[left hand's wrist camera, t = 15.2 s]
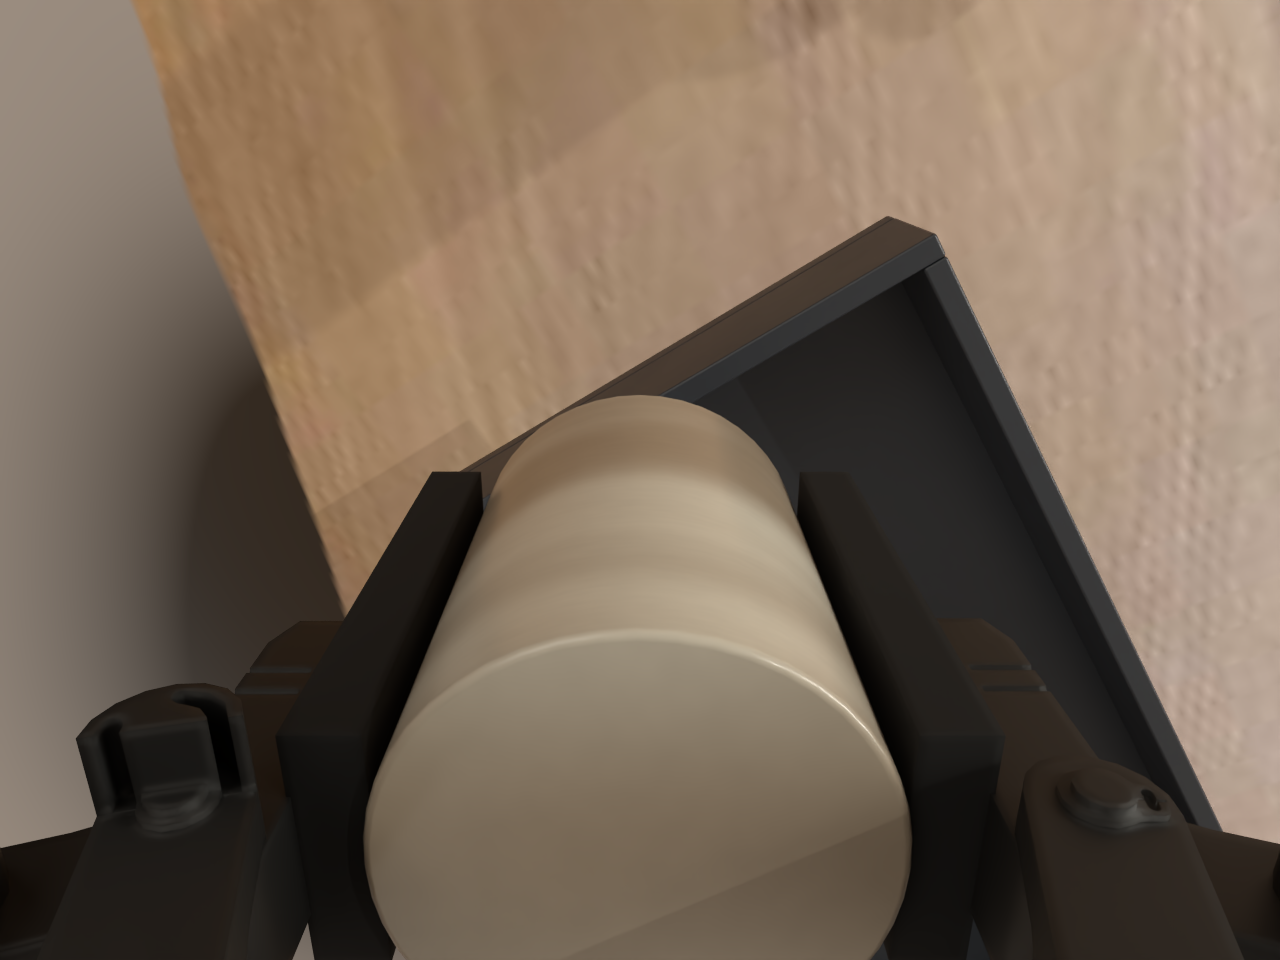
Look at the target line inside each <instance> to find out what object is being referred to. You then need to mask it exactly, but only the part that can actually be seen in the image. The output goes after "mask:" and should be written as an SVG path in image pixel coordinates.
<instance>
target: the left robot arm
mask: <svg viewBox="0 0 1280 960" xmlns="http://www.w3.org/2000/svg"><path fill="white" fill-rule="evenodd" d="M483 512H484V509H483V494H482V479H481V472H432V473H431V475H430V476H429V478H428V480H427V481H426V483H425V485H424V486H423V488H422V490H421V492H420V493H419V495H418V497H417V498H416V500H415V502H414V503H413V505H412V507H411V508H410V510H409V512H408V513H407V515H406V517H405V518H404V520H403V522H402V523H401V525H400V527H399V528H398V530H397V532H396V533H395V535H394V537H393V539H392V540H391V542H390V544H389V545H388V547H387V549H386V550H385V552H384V554H383V555H382V557H381V559H380V560H379V562H378V564H377V565H376V567H375V569H374V570H373V572H372V574H371V575H370V577H369V579H368V580H367V582H366V584H365V586H364V587H363V589H362V591H361V592H360V594H359V596H358V597H357V599H356V601H355V602H354V604H353V606H352V607H351V609H350V611H349V612H348V614H347V616H346V617H345V619H344V621H300V622H298V623H297V624H295V625H294V626H292V627H291V628H289V629H288V630H286V631H285V632H283V633H282V634H281V635H279V636H278V637H276V638H275V639H273V640H272V641H270V642H269V643H268V644H267V645H266V647H265V648H264V649H263V651H262V652H261V654H260V655H259V657H258V658H257V659H256V661H255V662H254V663H253V665H252V666H251V668H250V673H246V675H245V676H244V677H243V679H242V680H241V682H240V683H239V684H238V686H237V687H236V689H235V694H234V693H232V692H231V691H230V690H229V689H227V688H223V687H219V686H215V685H210V684H206V683H197V684H175V685H171V686H166V687H162V688H157V689H153V690H148V691H145V692H142V693H140V694H138V695H135V696H133V697H130V698H128V699H126V700H123V701H121V702H118V703H116V704H114V705H113V706H111V707H110V708H109V709H107V710H105V711H104V712H102V713H101V714H99V715H98V716H96V717H95V718H93V719H92V720H91V721H90V722H89V723H88V724H87V726H86V727H85V728H84V729H83V730H82V732H81V733H80V734H79V735H78V737H77V738H76V741H77V745H78V748H79V752H80V756H81V759H82V763H83V767H84V770H85V774H86V778H87V781H88V785H89V789H90V792H91V796H92V800H93V803H94V807H95V811H96V814H97V817H96V820H95V822H94V825H93V827H90V828H86V829H83V830H80V831H76V832H73V833H68V834H64V835H59V836H54V837H50V838H45V839H41V840H36V841H31V842H27V843H23V844H18V845H13V846H8V847H4V848H0V960H292V959H293V957H294V954H295V952H296V949H297V947H298V945H299V942H300V940H301V937H302V935H303V933H304V930H305V928H306V925H307V923H308V925H309V931H310V937H311V943H312V948H313V954H314V959H315V960H392V959H393V955H394V952H395V949H396V946H395V944H394V943H393V941H392V939H391V938H390V936H389V934H388V932H387V931H386V929H385V927H384V926H383V924H382V922H381V919H380V917H379V914H378V912H377V909H376V907H375V904H374V902H373V899H372V896H371V892H370V887H369V883H368V878H367V874H366V869H365V862H364V844H363V833H364V824H365V815H366V807H367V804H368V800H369V797H370V793H371V790H372V786H373V783H374V780H375V777H376V775H377V772H378V770H379V767H380V765H381V762H382V760H383V758H384V755H385V753H386V750H387V748H388V745H389V743H390V740H391V738H392V735H393V733H394V731H395V728H396V726H397V723H398V721H399V718H400V716H401V713H402V711H403V708H404V706H405V704H406V701H407V699H408V696H409V694H410V691H411V689H412V686H413V684H414V682H415V679H416V677H417V674H418V672H419V669H420V667H421V664H422V662H423V659H424V657H425V655H426V652H427V650H428V647H429V645H430V642H431V640H432V637H433V635H434V632H435V630H436V628H437V625H438V623H439V620H440V618H441V615H442V613H443V610H444V608H445V605H446V603H447V601H448V598H449V596H450V593H451V591H452V588H453V586H454V583H455V581H456V579H457V576H458V574H459V571H460V569H461V566H462V564H463V561H464V559H465V556H466V554H467V552H468V549H469V547H470V544H471V542H472V539H473V537H474V534H475V532H476V529H477V527H478V525H479V522H480V520H481V517H482V515H483ZM797 518H798V521H799V523H800V526H801V528H802V531H803V533H804V536H805V538H806V541H807V543H808V546H809V548H810V551H811V554H812V556H813V559H814V561H815V564H816V566H817V569H818V571H819V574H820V576H821V579H822V581H823V584H824V586H825V589H826V591H827V594H828V597H829V599H830V602H831V604H832V607H833V609H834V612H835V614H836V617H837V619H838V622H839V624H840V627H841V629H842V632H843V634H844V637H845V640H846V642H847V645H848V647H849V650H850V652H851V655H852V657H853V660H854V662H855V665H856V667H857V670H858V672H859V675H860V677H861V680H862V683H863V685H864V688H865V690H866V693H867V695H868V698H869V700H870V703H871V705H872V708H873V710H874V713H875V715H876V718H877V720H878V723H879V726H880V728H881V731H882V733H883V736H884V738H885V741H886V743H887V746H888V748H889V751H890V753H891V756H892V758H893V761H894V763H895V766H896V769H897V771H898V774H899V776H900V779H901V781H902V785H903V788H904V792H905V795H906V799H907V802H908V806H909V809H910V818H911V827H912V836H913V841H912V859H911V869H910V874H909V878H908V883H907V887H906V892H905V896H904V900H903V902H902V905H901V907H900V910H899V912H898V915H897V917H896V920H895V922H894V924H893V926H892V928H891V930H890V931H889V933H888V935H887V936H886V938H885V940H884V942H883V943H884V946H885V949H886V953H887V956H888V959H889V960H966V958H967V952H968V947H969V941H970V935H971V930H972V924H973V919H974V921H975V924H976V926H977V929H978V931H979V933H980V936H981V938H982V941H983V943H984V945H985V948H986V950H987V952H988V955H989V957H990V960H1280V844H1276V843H1272V842H1267V841H1263V840H1258V839H1253V838H1249V837H1244V836H1240V835H1235V834H1230V833H1226V832H1221V831H1217V830H1212V829H1208V828H1205V827H1201V826H1198V825H1194V824H1191V823H1187V822H1186V821H1185V818H1184V816H1183V814H1182V813H1181V811H1180V810H1179V809H1178V807H1177V806H1176V804H1175V803H1174V801H1173V800H1172V799H1171V797H1170V796H1169V795H1168V794H1167V793H1166V792H1164V791H1163V790H1162V789H1160V788H1159V787H1158V786H1157V785H1155V784H1154V783H1153V782H1151V781H1150V780H1149V779H1147V778H1146V777H1144V776H1142V775H1140V774H1138V773H1136V772H1134V771H1132V770H1129V769H1127V768H1125V767H1123V766H1121V765H1119V764H1116V763H1112V762H1109V761H1105V760H1101V759H1099V758H1098V757H1097V756H1096V754H1095V753H1094V751H1093V750H1092V749H1091V747H1090V746H1089V745H1088V743H1087V742H1086V740H1085V739H1084V738H1083V736H1082V735H1081V733H1080V732H1079V731H1078V729H1077V728H1076V726H1075V725H1074V724H1073V722H1072V721H1071V720H1070V718H1069V717H1068V715H1067V714H1066V713H1065V711H1064V710H1063V708H1062V707H1061V706H1060V704H1059V703H1058V701H1057V700H1056V699H1055V697H1054V696H1053V695H1052V693H1051V692H1050V691H1047V690H1046V685H1045V683H1044V682H1043V681H1042V679H1041V678H1040V676H1039V675H1038V674H1037V672H1036V671H1035V670H1032V669H1031V664H1030V663H1029V661H1028V660H1027V658H1026V657H1025V656H1024V654H1023V653H1022V651H1021V650H1020V649H1019V647H1018V646H1017V645H1016V643H1015V642H1014V640H1013V639H1011V638H1010V637H1008V636H1007V635H1005V634H1004V633H1002V632H1001V631H999V630H998V629H996V628H995V627H993V626H992V625H990V624H989V623H987V622H986V621H984V620H983V619H982V618H935V616H934V614H933V613H932V611H931V609H930V608H929V606H928V604H927V603H926V601H925V599H924V598H923V596H922V594H921V592H920V591H919V589H918V587H917V586H916V584H915V582H914V581H913V579H912V577H911V576H910V574H909V572H908V571H907V569H906V567H905V566H904V564H903V562H902V561H901V559H900V557H899V556H898V554H897V552H896V550H895V549H894V547H893V545H892V544H891V542H890V540H889V539H888V537H887V535H886V534H885V532H884V530H883V529H882V527H881V525H880V524H879V522H878V520H877V519H876V517H875V515H874V514H873V512H872V510H871V509H870V507H869V505H868V503H867V502H866V500H865V498H864V497H863V495H862V493H861V492H860V490H859V488H858V487H857V485H856V483H855V482H854V480H853V478H852V477H851V475H850V473H849V472H800V477H799V492H798V507H797Z"/></svg>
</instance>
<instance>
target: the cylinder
mask: <svg viewBox="0 0 1280 960" xmlns="http://www.w3.org/2000/svg"><path fill="white" fill-rule="evenodd" d="M912 841H913V836H912V827H911V818H910V809H909V806H908V802H907V799H906V795H905V792H904V788H903V785H902V781H901V779H900V776H899V774H898V771H897V769H896V766H895V763H894V761H893V758H892V756H891V753H890V751H889V748H888V746H887V743H886V741H885V738H884V736H883V733H882V731H881V728H880V726H879V723H878V720H877V718H876V715H875V713H874V710H873V708H872V705H871V703H870V700H869V698H868V695H867V693H866V690H865V688H864V685H863V683H862V680H861V677H860V675H859V672H858V670H857V667H856V665H855V662H854V660H853V657H852V655H851V652H850V650H849V647H848V645H847V642H846V640H845V637H844V634H843V632H842V629H841V627H840V624H839V622H838V619H837V617H836V614H835V612H834V609H833V607H832V604H831V602H830V599H829V597H828V594H827V591H826V589H825V586H824V584H823V581H822V579H821V576H820V574H819V571H818V569H817V566H816V564H815V561H814V559H813V556H812V554H811V551H810V548H809V546H808V543H807V541H806V538H805V536H804V533H803V531H802V528H801V526H800V523H799V521H798V518H797V516H796V513H795V511H794V508H793V505H792V503H791V500H790V498H789V495H788V493H787V490H786V488H785V486H784V484H783V482H782V480H781V477H780V475H779V473H778V471H777V470H776V468H775V467H774V465H773V464H772V462H771V461H770V459H769V458H768V456H767V455H766V454H765V453H764V452H763V450H762V449H761V448H760V447H759V446H758V445H757V444H756V442H755V441H754V440H752V439H751V438H750V437H749V436H748V435H747V434H746V433H744V432H743V431H742V430H741V429H740V428H739V427H737V426H736V425H734V424H732V423H731V422H729V421H728V420H726V419H725V418H723V417H722V416H720V415H718V414H716V413H714V412H711V411H709V410H707V409H705V408H703V407H700V406H697V405H694V404H691V403H688V402H685V401H682V400H677V399H672V398H667V397H661V396H647V395H632V396H617V397H612V398H607V399H602V400H597V401H594V402H591V403H587V404H584V405H581V406H578V407H576V408H574V409H572V410H569V411H567V412H565V413H563V414H561V415H559V416H557V417H556V418H554V419H552V420H551V421H549V422H548V423H546V424H545V425H543V426H542V427H540V428H539V429H538V430H537V431H536V432H534V433H533V434H532V435H531V436H530V437H529V438H528V439H526V440H525V441H524V442H523V443H522V445H521V446H520V447H519V448H518V449H517V450H516V451H515V453H514V454H513V455H512V456H511V458H510V459H509V461H508V462H507V464H506V465H505V467H504V468H503V470H502V471H501V473H500V475H499V477H498V479H497V482H496V484H495V486H494V488H493V490H492V493H491V495H490V498H489V500H488V503H487V505H486V507H485V510H484V512H483V515H482V517H481V520H480V522H479V525H478V527H477V529H476V532H475V534H474V537H473V539H472V542H471V544H470V547H469V549H468V552H467V554H466V556H465V559H464V561H463V564H462V566H461V569H460V571H459V574H458V576H457V579H456V581H455V583H454V586H453V588H452V591H451V593H450V596H449V598H448V601H447V603H446V605H445V608H444V610H443V613H442V615H441V618H440V620H439V623H438V625H437V628H436V630H435V632H434V635H433V637H432V640H431V642H430V645H429V647H428V650H427V652H426V655H425V657H424V659H423V662H422V664H421V667H420V669H419V672H418V674H417V677H416V679H415V682H414V684H413V686H412V689H411V691H410V694H409V696H408V699H407V701H406V704H405V706H404V708H403V711H402V713H401V716H400V718H399V721H398V723H397V726H396V728H395V731H394V733H393V735H392V738H391V740H390V743H389V745H388V748H387V750H386V753H385V755H384V758H383V760H382V762H381V765H380V767H379V770H378V772H377V775H376V777H375V780H374V783H373V786H372V790H371V793H370V797H369V800H368V804H367V807H366V815H365V824H364V833H363V844H364V862H365V869H366V874H367V878H368V883H369V887H370V892H371V896H372V899H373V902H374V904H375V907H376V909H377V912H378V914H379V917H380V919H381V922H382V924H383V926H384V927H385V929H386V931H387V932H388V934H389V936H390V938H391V939H392V941H393V943H394V944H395V946H396V948H397V949H398V950H399V952H400V953H401V954H402V955H403V957H404V958H405V959H406V960H871V958H872V957H873V956H874V955H875V953H876V952H877V951H878V950H879V948H880V947H881V945H882V943H883V942H884V940H885V938H886V936H887V935H888V933H889V931H890V930H891V928H892V926H893V924H894V922H895V920H896V917H897V915H898V912H899V910H900V907H901V905H902V902H903V900H904V896H905V892H906V887H907V883H908V878H909V874H910V869H911V859H912Z"/></svg>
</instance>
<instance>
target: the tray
mask: <svg viewBox="0 0 1280 960" xmlns="http://www.w3.org/2000/svg"><path fill="white" fill-rule="evenodd" d="M632 395H647V396H661V397H667V398H672V399H677V400H682V401H685V402H688V403H691V404H694V405H697V406H700V407H703V408H705V409H707V410H709V411H711V412H714V413H716V414H718V415H720V416H722V417H723V418H725V419H726V420H728V421H729V422H731V423H732V424H734V425H736V426H737V427H739V428H740V429H741V430H742V431H743V432H744V433H746V434H747V435H748V436H749V437H750V438H751V439H752V440H754V441H755V442H756V444H757V445H758V446H759V447H760V448H761V449H762V450H763V452H764V453H765V454H766V455H767V456H768V458H769V459H770V461H771V462H772V464H773V465H774V467H775V468H776V470H777V471H778V473H779V475H780V477H781V480H782V482H783V484H784V486H785V488H786V490H787V493H788V495H789V498H790V500H791V503H792V505H793V508H794V511H795V513H796V516H797V507H798V492H799V477H800V472H849V473H850V475H851V477H852V478H853V480H854V482H855V483H856V485H857V487H858V488H859V490H860V492H861V493H862V495H863V497H864V498H865V500H866V502H867V503H868V505H869V507H870V509H871V510H872V512H873V514H874V515H875V517H876V519H877V520H878V522H879V524H880V525H881V527H882V529H883V530H884V532H885V534H886V535H887V537H888V539H889V540H890V542H891V544H892V545H893V547H894V549H895V550H896V552H897V554H898V556H899V557H900V559H901V561H902V562H903V564H904V566H905V567H906V569H907V571H908V572H909V574H910V576H911V577H912V579H913V581H914V582H915V584H916V586H917V587H918V589H919V591H920V592H921V594H922V596H923V598H924V599H925V601H926V603H927V604H928V606H929V608H930V609H931V611H932V613H933V614H934V616H935V618H982V619H983V620H984V621H986V622H987V623H989V624H990V625H992V626H993V627H995V628H996V629H998V630H999V631H1001V632H1002V633H1004V634H1005V635H1007V636H1008V637H1010V638H1011V639H1013V640H1014V642H1015V643H1016V645H1017V646H1018V647H1019V649H1020V650H1021V651H1022V653H1023V654H1024V656H1025V657H1026V658H1027V660H1028V661H1029V663H1030V664H1031V669H1032V670H1035V671H1036V672H1037V674H1038V675H1039V676H1040V678H1041V679H1042V681H1043V682H1044V683H1045V685H1046V690H1047V691H1050V692H1051V693H1052V695H1053V696H1054V697H1055V699H1056V700H1057V701H1058V703H1059V704H1060V706H1061V707H1062V708H1063V710H1064V711H1065V713H1066V714H1067V715H1068V717H1069V718H1070V720H1071V721H1072V722H1073V724H1074V725H1075V726H1076V728H1077V729H1078V731H1079V732H1080V733H1081V735H1082V736H1083V738H1084V739H1085V740H1086V742H1087V743H1088V745H1089V746H1090V747H1091V749H1092V750H1093V751H1094V753H1095V754H1096V756H1097V757H1098V758H1099V759H1101V760H1105V761H1109V762H1112V763H1116V764H1119V765H1121V766H1123V767H1125V768H1127V769H1129V770H1132V771H1134V772H1136V773H1138V774H1140V775H1142V776H1144V777H1146V778H1147V779H1149V780H1150V781H1151V782H1153V783H1154V784H1155V785H1157V786H1158V787H1159V788H1160V789H1162V790H1163V791H1164V792H1166V793H1167V794H1168V795H1169V796H1170V797H1171V799H1172V800H1173V801H1174V803H1175V804H1176V806H1177V807H1178V809H1179V810H1180V811H1181V813H1182V814H1183V816H1184V818H1185V821H1186V822H1187V823H1191V824H1194V825H1198V826H1201V827H1205V828H1208V829H1212V830H1217V831H1221V832H1223V830H1222V828H1221V826H1220V824H1219V822H1218V820H1217V818H1216V816H1215V814H1214V812H1213V810H1212V807H1211V805H1210V803H1209V801H1208V799H1207V797H1206V795H1205V793H1204V791H1203V789H1202V787H1201V785H1200V783H1199V780H1198V778H1197V776H1196V774H1195V772H1194V770H1193V768H1192V766H1191V764H1190V762H1189V760H1188V758H1187V755H1186V753H1185V751H1184V749H1183V747H1182V745H1181V743H1180V741H1179V739H1178V737H1177V735H1176V733H1175V730H1174V728H1173V726H1172V724H1171V722H1170V720H1169V718H1168V716H1167V714H1166V712H1165V710H1164V708H1163V705H1162V703H1161V701H1160V699H1159V697H1158V695H1157V693H1156V691H1155V689H1154V687H1153V685H1152V683H1151V680H1150V678H1149V676H1148V674H1147V672H1146V670H1145V668H1144V666H1143V664H1142V662H1141V660H1140V658H1139V655H1138V653H1137V651H1136V649H1135V647H1134V645H1133V643H1132V641H1131V639H1130V637H1129V635H1128V633H1127V631H1126V628H1125V626H1124V624H1123V622H1122V620H1121V618H1120V616H1119V614H1118V612H1117V610H1116V608H1115V606H1114V603H1113V601H1112V599H1111V597H1110V595H1109V593H1108V591H1107V589H1106V587H1105V585H1104V583H1103V581H1102V578H1101V576H1100V574H1099V572H1098V570H1097V568H1096V566H1095V564H1094V562H1093V560H1092V558H1091V556H1090V553H1089V551H1088V549H1087V547H1086V545H1085V543H1084V541H1083V539H1082V537H1081V535H1080V533H1079V531H1078V528H1077V526H1076V524H1075V522H1074V520H1073V518H1072V516H1071V514H1070V512H1069V510H1068V508H1067V506H1066V504H1065V501H1064V499H1063V497H1062V495H1061V493H1060V491H1059V489H1058V487H1057V485H1056V483H1055V481H1054V479H1053V476H1052V474H1051V472H1050V470H1049V468H1048V466H1047V464H1046V462H1045V460H1044V458H1043V456H1042V454H1041V451H1040V449H1039V447H1038V445H1037V443H1036V441H1035V439H1034V437H1033V435H1032V433H1031V431H1030V429H1029V426H1028V424H1027V422H1026V420H1025V418H1024V416H1023V414H1022V412H1021V410H1020V408H1019V406H1018V404H1017V401H1016V399H1015V397H1014V395H1013V393H1012V391H1011V389H1010V387H1009V385H1008V383H1007V381H1006V379H1005V376H1004V374H1003V372H1002V370H1001V368H1000V366H999V364H998V362H997V360H996V358H995V356H994V354H993V352H992V349H991V347H990V345H989V343H988V341H987V339H986V337H985V335H984V333H983V331H982V329H981V327H980V324H979V322H978V320H977V318H976V316H975V314H974V312H973V310H972V308H971V306H970V304H969V302H968V299H967V297H966V295H965V293H964V291H963V289H962V287H961V285H960V283H959V281H958V279H957V277H956V274H955V272H954V270H953V268H952V266H951V264H950V262H949V260H948V258H947V257H945V252H944V249H943V247H942V245H941V243H940V241H939V239H938V237H937V235H936V234H934V233H932V232H929V231H927V230H924V229H921V228H919V227H916V226H914V225H911V224H908V223H906V222H903V221H901V220H898V219H894V218H892V217H890V216H887V217H885V218H883V219H881V220H880V221H878V222H876V223H875V224H873V225H871V226H870V227H868V228H866V229H865V230H863V231H861V232H860V233H858V234H856V235H855V236H853V237H851V238H850V239H848V240H846V241H845V242H843V243H841V244H840V245H838V246H836V247H835V248H833V249H831V250H830V251H828V252H826V253H825V254H823V255H821V256H820V257H818V258H816V259H815V260H813V261H811V262H809V263H808V264H806V265H804V266H803V267H801V268H799V269H798V270H796V271H794V272H793V273H791V274H789V275H788V276H786V277H784V278H783V279H781V280H779V281H778V282H776V283H774V284H773V285H771V286H769V287H768V288H766V289H764V290H763V291H761V292H759V293H758V294H756V295H754V296H753V297H751V298H749V299H748V300H746V301H744V302H743V303H741V304H739V305H738V306H736V307H734V308H733V309H731V310H729V311H728V312H726V313H724V314H722V315H721V316H719V317H717V318H716V319H714V320H712V321H711V322H709V323H707V324H706V325H704V326H702V327H701V328H699V329H697V330H696V331H694V332H692V333H691V334H689V335H687V336H686V337H684V338H682V339H681V340H679V341H677V342H676V343H674V344H672V345H671V346H669V347H667V348H666V349H664V350H662V351H661V352H659V353H657V354H656V355H654V356H652V357H651V358H649V359H647V360H646V361H644V362H642V363H641V364H639V365H637V366H635V367H634V368H632V369H630V370H629V371H627V372H625V373H624V374H622V375H620V376H619V377H617V378H615V379H614V380H612V381H610V382H609V383H607V384H605V385H604V386H602V387H600V388H599V389H597V390H595V391H594V392H592V393H590V394H589V395H587V396H585V397H584V398H582V399H580V400H579V401H577V402H575V403H574V404H572V405H570V406H569V407H567V408H565V409H564V410H562V411H560V412H559V413H557V414H555V415H554V416H552V417H550V418H548V419H547V420H545V421H543V422H542V423H540V424H538V425H537V426H535V427H533V428H532V429H530V430H528V431H527V432H525V433H523V434H522V435H520V436H518V437H517V438H515V439H513V440H512V441H510V442H508V443H507V444H505V445H503V446H502V447H500V448H498V449H497V450H495V451H493V452H492V453H490V454H488V455H487V456H485V457H483V458H482V459H480V460H478V461H477V462H475V463H473V464H472V465H470V466H468V467H467V468H465V469H463V470H461V471H460V472H481V479H482V494H483V509H484V510H485V507H486V505H487V503H488V500H489V498H490V495H491V493H492V490H493V488H494V486H495V484H496V482H497V479H498V477H499V475H500V473H501V471H502V470H503V468H504V467H505V465H506V464H507V462H508V461H509V459H510V458H511V456H512V455H513V454H514V453H515V451H516V450H517V449H518V448H519V447H520V446H521V445H522V443H523V442H524V441H525V440H526V439H528V438H529V437H530V436H531V435H532V434H533V433H534V432H536V431H537V430H538V429H539V428H540V427H542V426H543V425H545V424H546V423H548V422H549V421H551V420H552V419H554V418H556V417H557V416H559V415H561V414H563V413H565V412H567V411H569V410H572V409H574V408H576V407H578V406H581V405H584V404H587V403H591V402H594V401H597V400H602V399H607V398H612V397H617V396H632ZM871 960H889V959H888V956H887V953H886V949H885V946H884V943H882V945H881V947H880V948H879V950H878V951H877V952H876V953H875V955H874V956H873V957H872V958H871ZM966 960H990V957H989V955H988V952H987V950H986V948H985V945H984V943H983V941H982V938H981V936H980V933H979V931H978V929H977V926H976V924H975V921H974V919H973V924H972V930H971V935H970V941H969V947H968V952H967V958H966Z"/></svg>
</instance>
